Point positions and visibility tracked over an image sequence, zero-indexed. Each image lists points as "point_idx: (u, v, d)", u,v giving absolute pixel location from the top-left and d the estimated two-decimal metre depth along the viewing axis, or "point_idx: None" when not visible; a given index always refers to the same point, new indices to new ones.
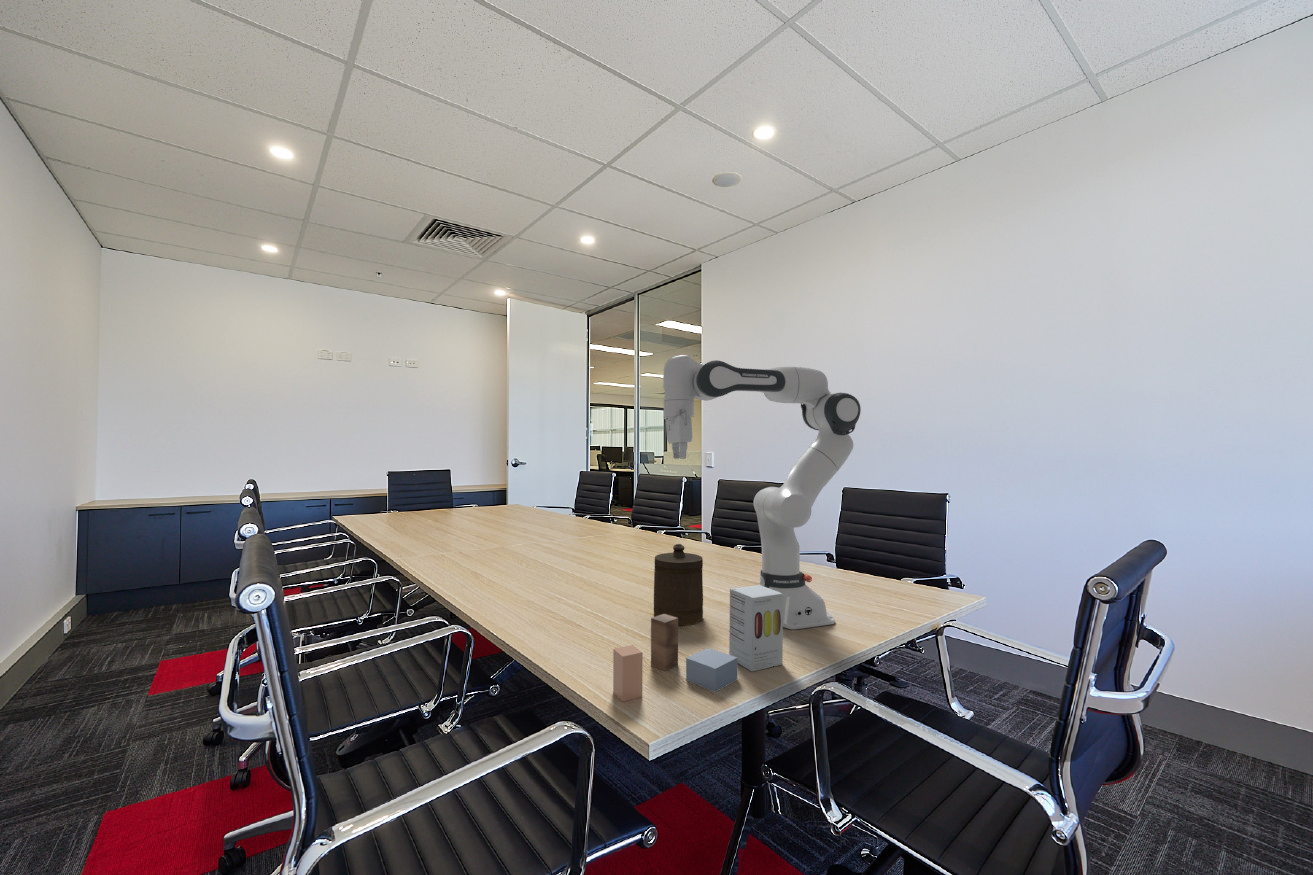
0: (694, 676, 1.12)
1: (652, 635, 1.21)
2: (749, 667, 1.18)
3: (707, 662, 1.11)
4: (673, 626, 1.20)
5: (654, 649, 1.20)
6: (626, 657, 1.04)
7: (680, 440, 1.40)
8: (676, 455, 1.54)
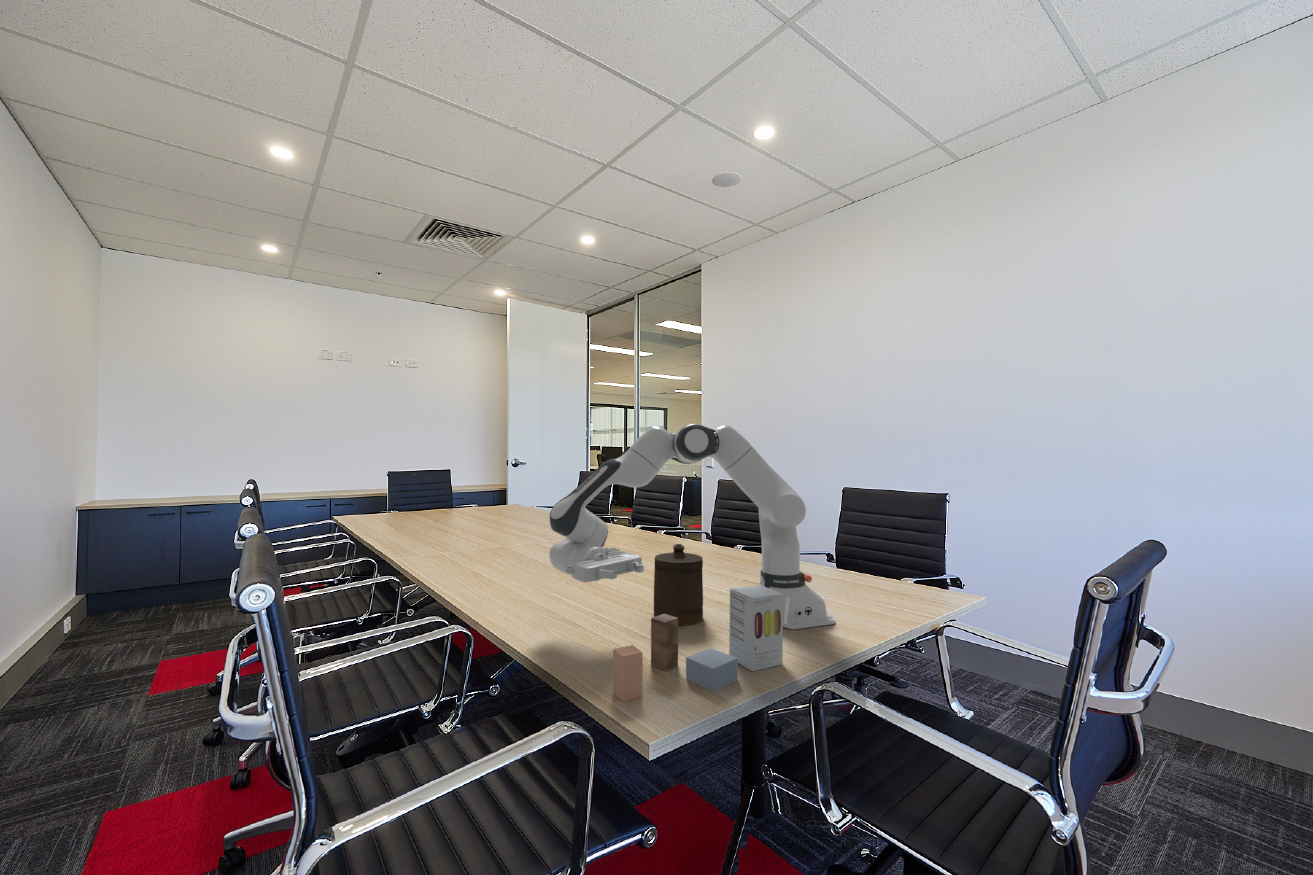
0: (693, 675, 1.12)
1: (652, 635, 1.21)
2: (749, 667, 1.18)
3: (706, 662, 1.11)
4: (673, 626, 1.20)
5: (654, 649, 1.20)
6: (626, 657, 1.04)
7: (586, 581, 1.26)
8: (637, 569, 1.33)
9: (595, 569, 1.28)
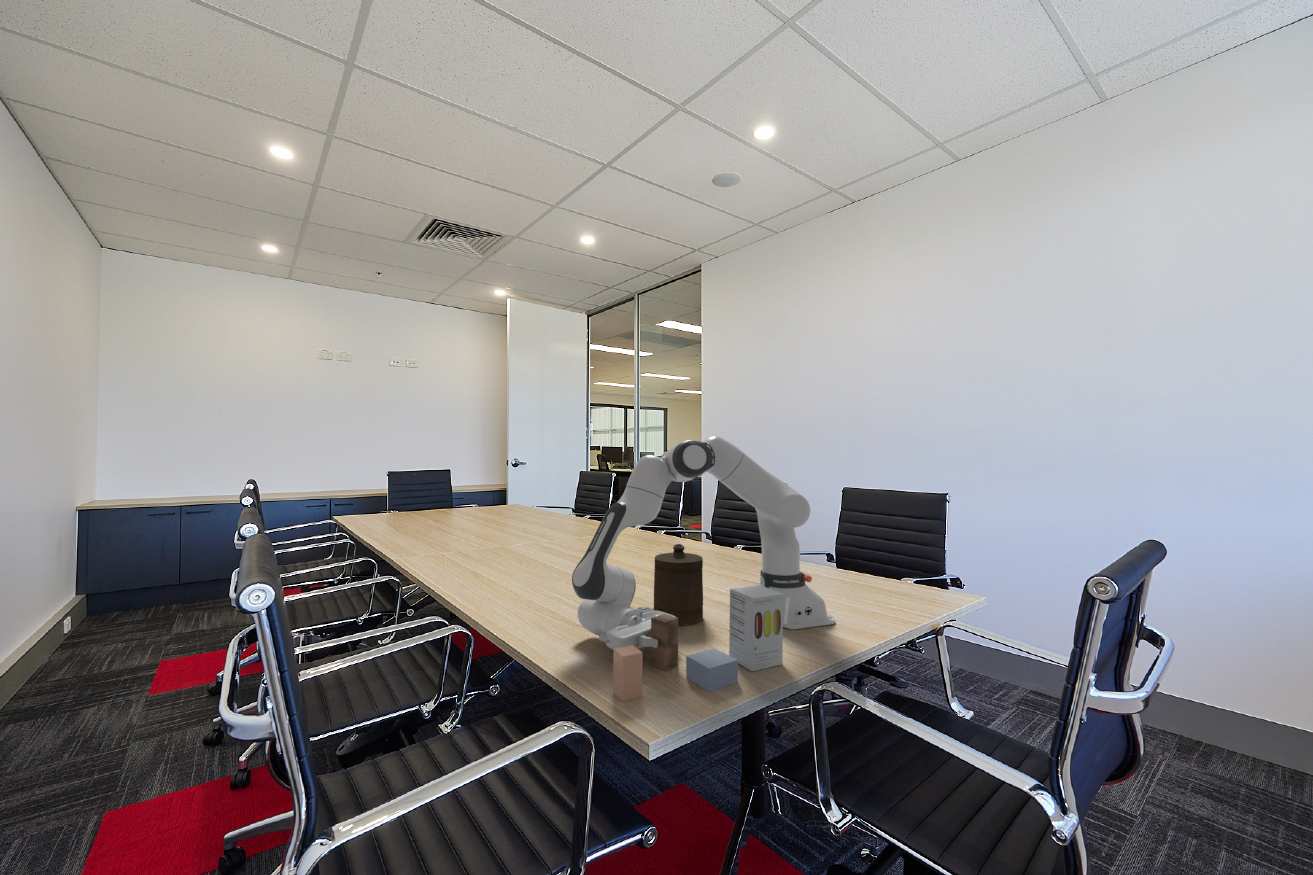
0: (692, 674, 1.13)
1: (652, 635, 1.21)
2: (749, 667, 1.18)
3: (705, 661, 1.11)
4: (673, 626, 1.20)
5: (654, 649, 1.20)
6: (626, 657, 1.04)
7: None
8: None
9: (632, 638, 1.18)
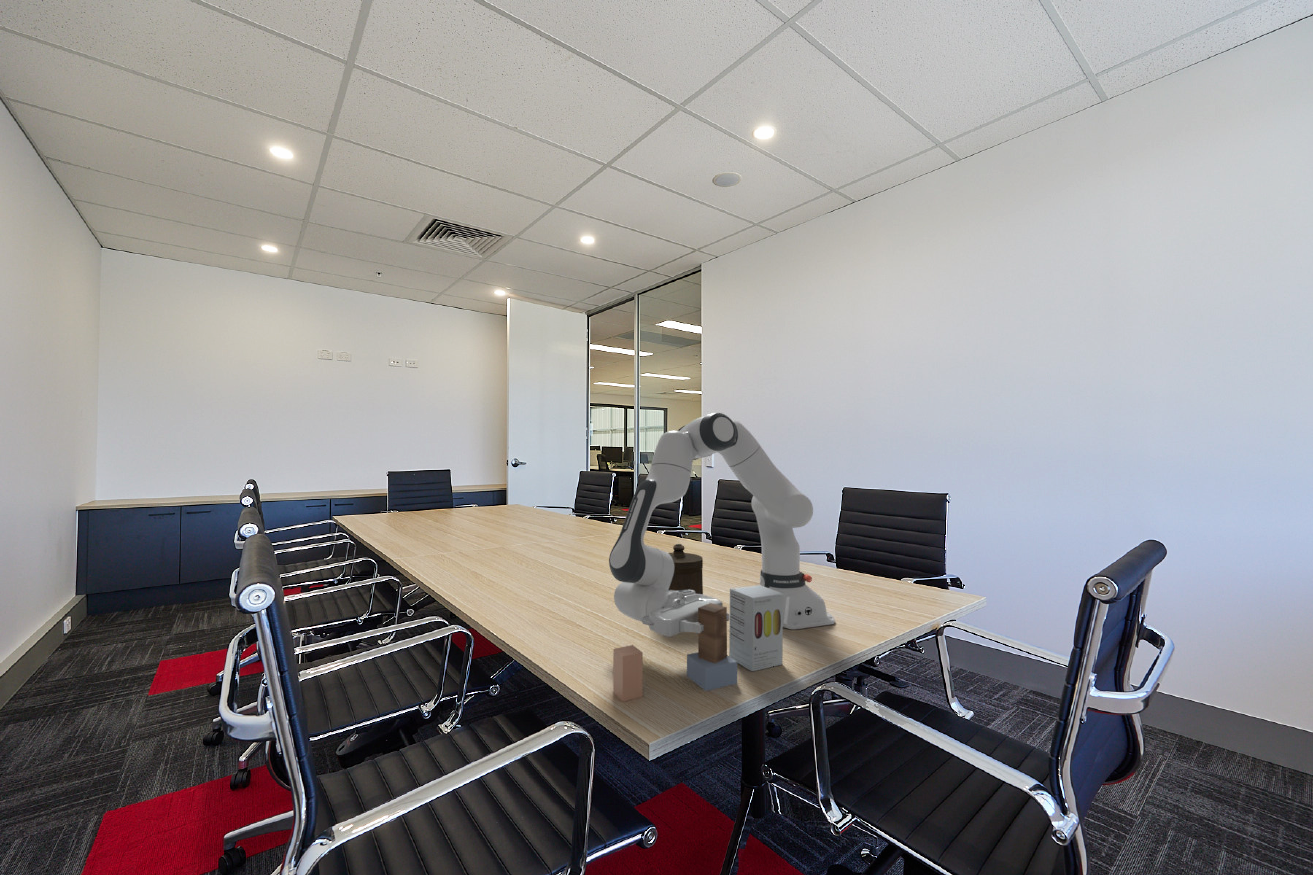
0: (691, 673, 1.13)
1: None
2: (749, 667, 1.18)
3: (703, 661, 1.11)
4: (722, 615, 1.13)
5: (702, 640, 1.13)
6: (626, 657, 1.04)
7: (669, 635, 1.09)
8: None
9: (678, 621, 1.11)
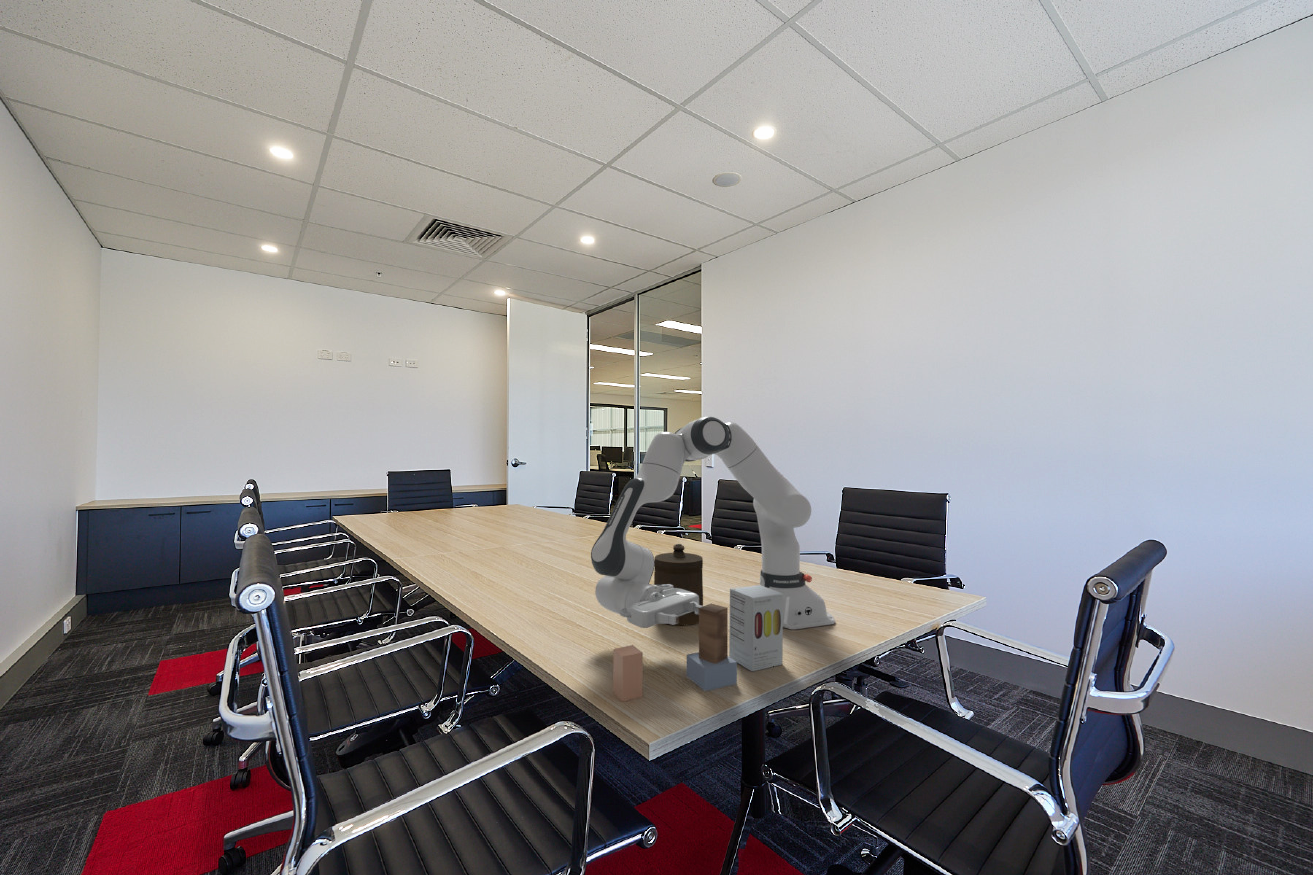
0: (691, 673, 1.13)
1: (700, 626, 1.13)
2: (749, 667, 1.18)
3: (702, 661, 1.11)
4: (723, 616, 1.13)
5: (703, 641, 1.13)
6: (626, 657, 1.04)
7: (645, 627, 1.14)
8: (697, 611, 1.21)
9: (654, 613, 1.16)
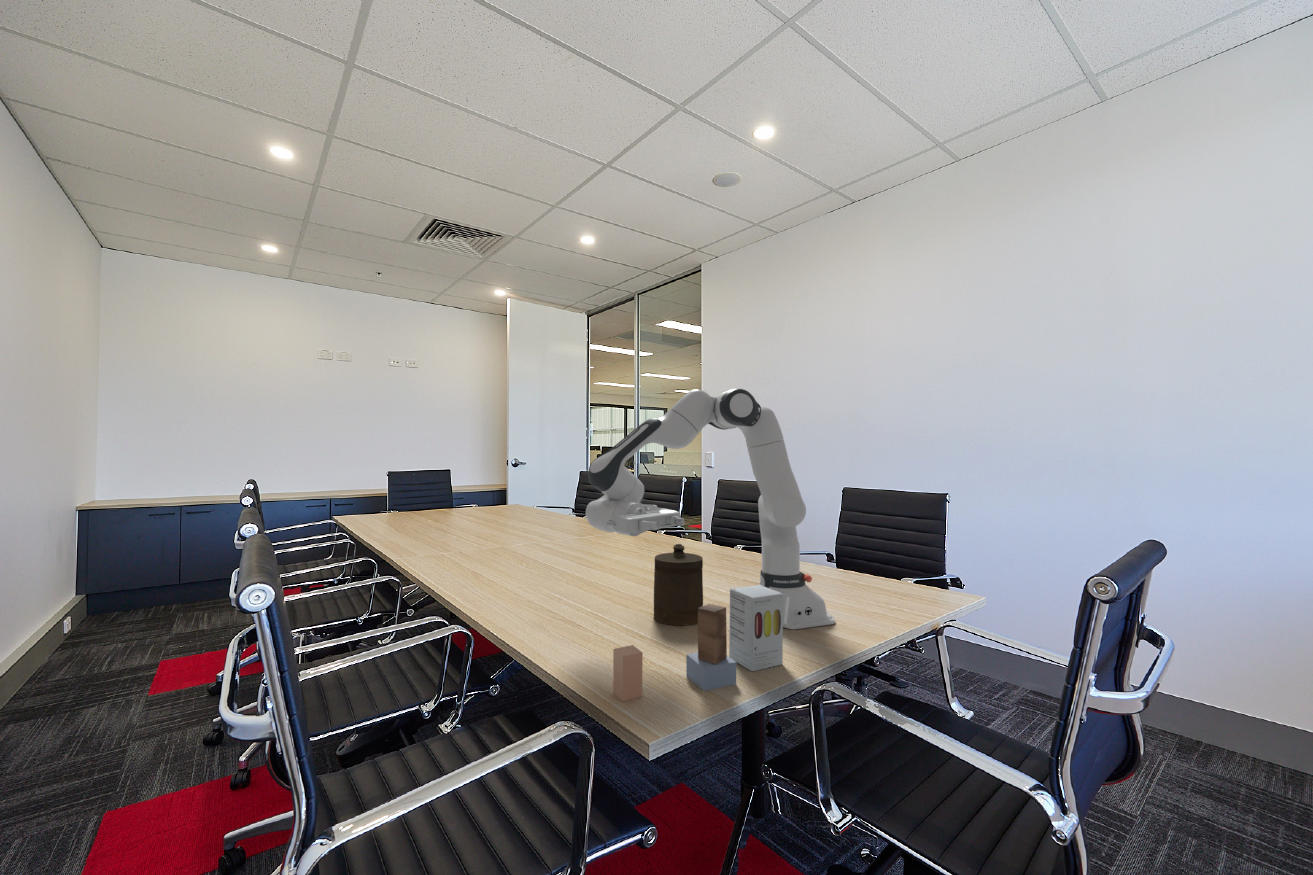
0: (691, 673, 1.13)
1: (699, 627, 1.13)
2: (749, 667, 1.18)
3: (702, 661, 1.11)
4: (722, 616, 1.12)
5: (702, 641, 1.12)
6: (626, 657, 1.04)
7: (629, 532, 1.25)
8: (678, 522, 1.32)
9: (637, 520, 1.26)
